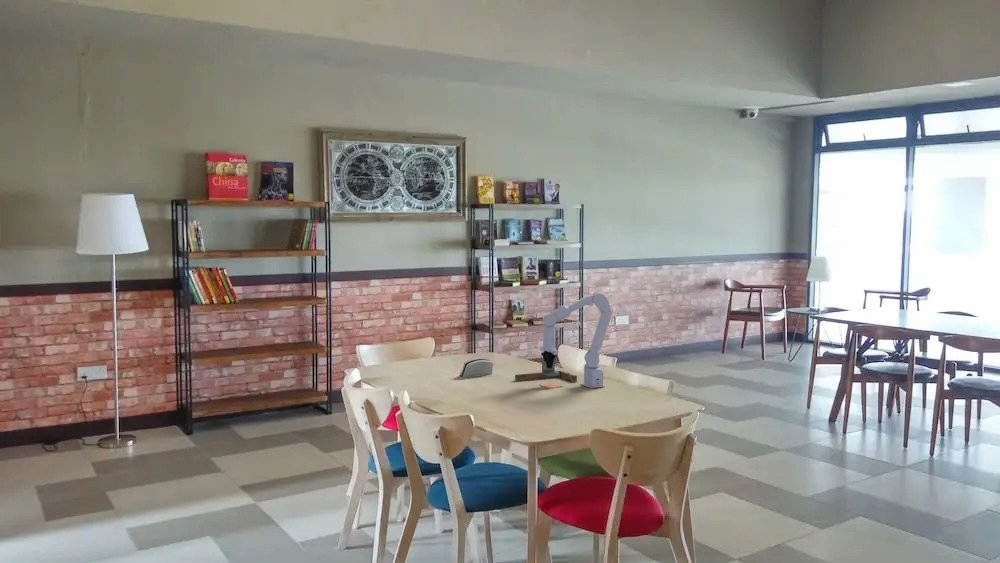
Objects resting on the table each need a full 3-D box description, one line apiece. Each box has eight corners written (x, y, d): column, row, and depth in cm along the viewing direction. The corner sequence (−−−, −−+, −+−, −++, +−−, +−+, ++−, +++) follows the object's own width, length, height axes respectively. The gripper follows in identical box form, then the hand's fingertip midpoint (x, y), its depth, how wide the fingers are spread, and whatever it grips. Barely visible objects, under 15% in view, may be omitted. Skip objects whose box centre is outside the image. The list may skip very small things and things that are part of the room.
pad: (562, 386, 384) (562, 386, 384) (547, 388, 380) (547, 387, 380) (554, 383, 391) (554, 383, 391) (539, 385, 388) (539, 384, 388)
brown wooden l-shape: (576, 382, 395) (576, 375, 395) (528, 386, 384) (528, 380, 384) (561, 376, 408) (561, 370, 408) (515, 380, 398) (515, 374, 397)
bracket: (553, 372, 389) (553, 360, 388) (559, 375, 383) (559, 362, 383) (542, 374, 386) (542, 361, 386) (548, 376, 381) (548, 363, 380)
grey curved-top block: (487, 372, 419) (490, 355, 415) (491, 376, 415) (495, 359, 412) (458, 375, 410) (462, 358, 406) (463, 380, 406) (466, 362, 402)
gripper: (534, 337, 391) (534, 365, 392) (548, 341, 377) (548, 371, 379) (547, 336, 394) (547, 364, 395) (562, 340, 380) (562, 369, 382)
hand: (548, 367), depth 387 cm, fingers closed on bracket
